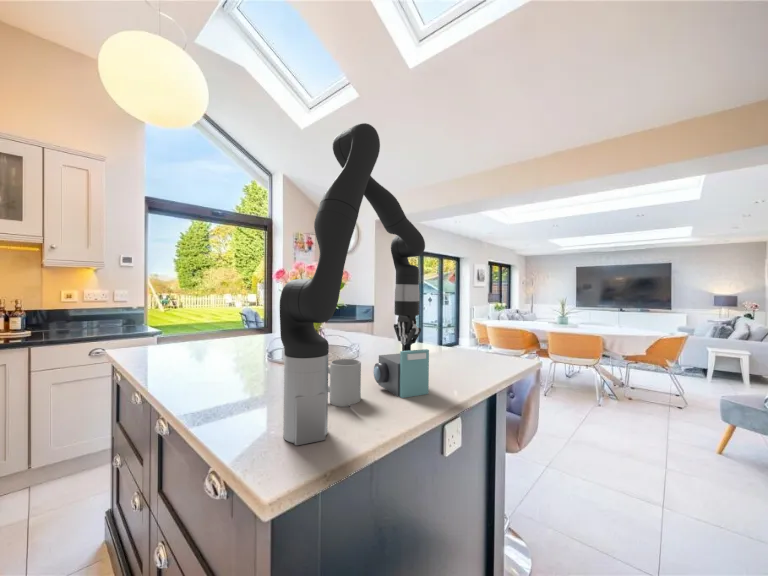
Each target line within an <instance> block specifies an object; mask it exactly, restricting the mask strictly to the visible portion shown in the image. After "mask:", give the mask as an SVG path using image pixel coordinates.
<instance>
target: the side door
mask: <svg viewBox="0 0 768 576" xmlns="http://www.w3.org/2000/svg"><path fill="white" fill-rule="evenodd" d="M399 354H400V396H399V397H400V398H401V399H403V398H404V399H405V398H410V397H418V396H423V395H424V396H426V395H429V391H430V390H429V388H430V387H429V384H430V383H429V381H430V378H429V375H430V372H429V371H430V370H429V368H430V363H429V362H430V350H429V349H427V348H426V349H425V348H424V349H411V350H410V351H402V350H401V351H399Z"/></svg>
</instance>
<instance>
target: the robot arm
mask: <svg viewBox="0 0 768 576" xmlns="http://www.w3.org/2000/svg"><path fill="white" fill-rule="evenodd" d="M380 150H381V141H380V137H379V133H378V131H377V129H376V128H375V127H374V125H371V124H369V123H365V122H364V123H363V122H362V123H358V124H356V125H353V126H352V127H350V128H348V129H346V130H343V131H342V132H340V133H338V134H337V135H336V136H335V137H334V138H333V140H332V151H333V155H334V157H335V159H336V161H337V162H338V165H340V167H341V168H342V170H341V171H340V172H339V174H338V175H337V176H336V178H335V179H334V180H333V181H332V183H331V184H330V185H329V186H328V188H327V189H326V191H325V193H324V194H323V196H322V198H321V201H320V203H319V206H318V210H316V215H315V218H314V221H313V222H314V233H315V234H314V235H315V238H316V241H317V245H318V249H319V258H318V263H317V267H316V269H315V272H314V274H313V277H312V278H302V279H301V278H298V279H292V280H290V281H288V282H287V283H286V284H285V285H284V286H283V288H282V290H281V294H280V297H279V325H280V326H279V327H280V328H279V329H280V341H281V343H282V346H283V349H284V354H283V355H284V357H283V359H284V360H283V361H284V362H283V425H282V427H283V429H282V430H283V431H282V433H283V434H282V435H283V437H282V438H283V439H284V440H285V441H287V442H288V443H292V444H294V446H301V445H307V444H311V443H317V442H321V441H326V437H327V435H328V428H329V427H328V425H329V424H328V423H329V422H328V421H329V419H328V417H329V413H328V410H329V404H328V403H329V399H328V398H329V392H328V386H329V373H328V367H329V354H330V353H329V351H330V348H329V341H328V339H326V338H325V337H323V336H322V335H320V334H319V332H318V331H317V330H316V328H315V325H314V324H323V323H327V322H328V321H330V320H331V319H332V317H333V315H334V313H335V311H336V310H337V306H338V302H339V298H340V294H341V293H340V292H341V287H342V281H343V274H344V271H345V265H346V261H347V256H348V252H349V249H350V244H351V241H352V237H353V234H354V232H355V229H356V225H357V221H358V218H359V214H360V209H361V205H362V202H363V198H365V199H366V200H367V201H368V203H370V206H371V207H372V208H373V210H374V212H375V213H376V215H377V217H378V219H379V221H380V222H381V224H382V226H383V228H384V229H385V231H386V232H387V233H388V234H390V235H395V236H394V237H393V239H392V240H391V244H390V252H391V258H392V261H393V265H394V268H395V289H394V312H393V313H394V315H395V316H398V317H397V323H396V324H395V323H394V324H393V328H394V332H395V335H396V338H397V341H398V342H400V344H401V351H410V350H412V345H413V344H415V343H416V342H417V340H418V338H419V336H420V334H421V332H422V329H421V327H417V318H416V317H417V316H419V315H420V269H419V267H418V266H417V265H414V264H410V262H409V258H415V257H416V258H417V257H420V256H421V255H422V254H423V253H424V252H425V249H426V243H425V239H424V236H423V235H422V233H421V231H419V229H418V228H416V226H415V225H414V224H413V223H412V222H411V220H409V219H408V218H407V216H406V213H405V212H404V210H403V207H402V206H401V204H400V203H399V201H398V199H397V197H396V196H395V195H393V193H391V192H390V190H388V189H387V188H386V187H384V186H383V185H381V184H380V183H379V182H378V181H377V180H375V178H373V177H372V174H373V173H372V172H373V170H374V167H375V166H376V163H377V160H378V158H379V154H380Z"/></svg>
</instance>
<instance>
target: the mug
mask: <svg viewBox="0 0 768 576" xmlns="http://www.w3.org/2000/svg"><path fill="white" fill-rule="evenodd" d="M329 364H330V365H329V366H328V375H329V379H330V380H329V385H328V393H329V403H330V404H331V405H332V406H335V407H340V408H348V407H349V408H350V406H351V405H355V404H357V403H359V402H360V401H361V400H362V399H361V398H362V397H361V395H362V394H361V393H362V392H361V389H362V388H361V387H362V385H361V383H362V382H361V381H362V377H361V376H362V374H361V373H362V362H361V361H360V360H358V359H353V358H340V359H335V360H332V361H331V362H330V363H329Z"/></svg>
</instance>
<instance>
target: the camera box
mask: <svg viewBox="0 0 768 576" xmlns="http://www.w3.org/2000/svg"><path fill="white" fill-rule="evenodd" d="M373 377H374V380H375V382H376V383H377V384H378V386H380V387H381V388H383V389H385V390H386V391H388V392H390V393H391V394H393V395H394V396H395V397H400V353H391V354H390V353H389V354H379V355H378V362H376V363H375V364H374V366H373Z"/></svg>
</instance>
